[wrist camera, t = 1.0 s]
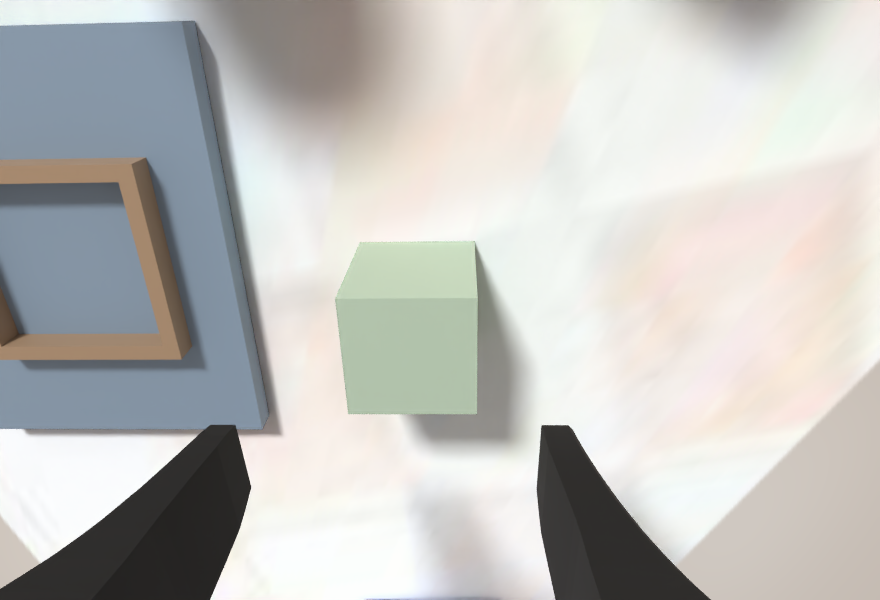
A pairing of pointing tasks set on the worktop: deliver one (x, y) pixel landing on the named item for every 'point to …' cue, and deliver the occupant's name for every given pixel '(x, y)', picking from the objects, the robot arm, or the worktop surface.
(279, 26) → the worktop surface
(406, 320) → the sage block
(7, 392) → the board
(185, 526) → the robot arm
